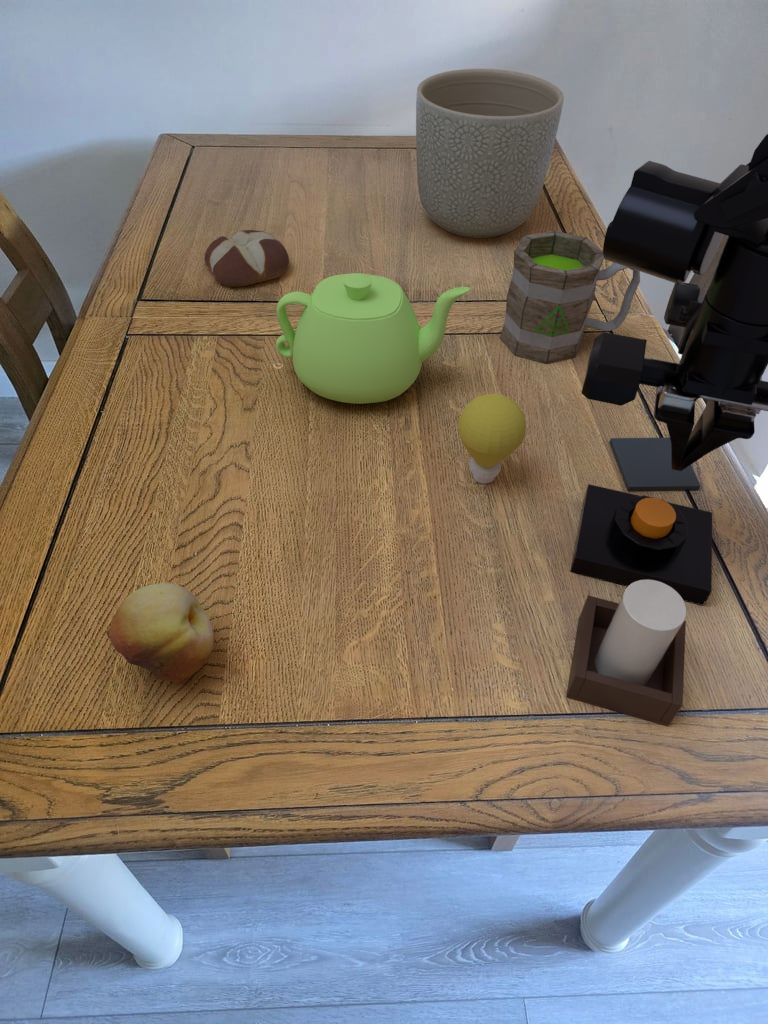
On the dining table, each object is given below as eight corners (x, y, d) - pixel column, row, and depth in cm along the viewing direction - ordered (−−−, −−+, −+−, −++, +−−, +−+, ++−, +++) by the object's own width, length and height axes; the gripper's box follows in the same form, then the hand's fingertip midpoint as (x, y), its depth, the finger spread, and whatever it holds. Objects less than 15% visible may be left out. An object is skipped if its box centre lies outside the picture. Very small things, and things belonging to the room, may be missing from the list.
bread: (298, 278, 101) (295, 245, 98) (221, 296, 98) (215, 262, 94) (272, 244, 108) (268, 212, 104) (199, 259, 105) (193, 226, 101)
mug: (503, 362, 88) (518, 274, 80) (496, 315, 96) (509, 229, 87) (628, 366, 88) (658, 278, 79) (612, 318, 96) (637, 233, 87)
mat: (699, 489, 74) (701, 485, 73) (627, 490, 74) (629, 487, 73) (676, 441, 79) (677, 437, 78) (609, 442, 79) (610, 438, 78)
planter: (537, 197, 121) (559, 71, 107) (542, 257, 107) (569, 121, 93) (416, 190, 122) (422, 64, 108) (405, 248, 108) (411, 112, 94)
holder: (672, 643, 61) (686, 620, 59) (668, 726, 56) (682, 705, 53) (578, 618, 63) (587, 595, 60) (565, 697, 57) (575, 675, 55)
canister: (652, 651, 60) (687, 588, 53) (649, 698, 57) (685, 637, 50) (597, 636, 61) (625, 572, 54) (591, 682, 58) (620, 620, 51)
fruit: (198, 712, 56) (178, 659, 50) (105, 686, 58) (75, 631, 52) (237, 633, 61) (223, 577, 55) (150, 611, 62) (127, 554, 57)
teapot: (459, 348, 90) (470, 251, 81) (457, 424, 80) (469, 324, 71) (289, 337, 91) (280, 240, 82) (266, 411, 81) (252, 310, 72)
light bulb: (528, 478, 75) (546, 403, 67) (484, 508, 72) (498, 433, 64) (482, 445, 78) (494, 371, 71) (438, 473, 75) (446, 398, 68)
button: (671, 515, 66) (677, 502, 65) (669, 543, 64) (675, 530, 63) (632, 506, 67) (637, 493, 66) (629, 533, 65) (634, 520, 64)
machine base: (704, 527, 70) (719, 499, 67) (703, 605, 64) (719, 579, 61) (583, 498, 73) (592, 471, 70) (570, 572, 66) (579, 544, 63)
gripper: (879, 270, 52) (786, 431, 63) (621, 230, 56) (578, 389, 67) (904, 354, 45) (795, 518, 56) (606, 301, 48) (561, 466, 60)
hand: (676, 467), depth 60 cm, fingers closed
